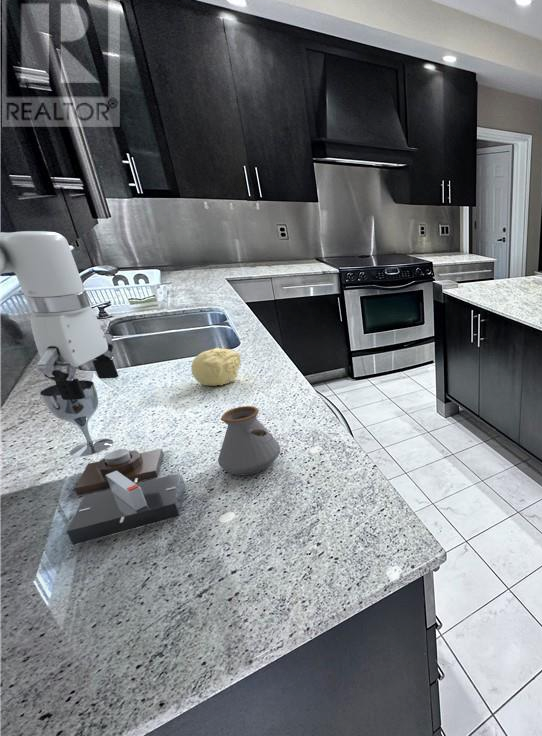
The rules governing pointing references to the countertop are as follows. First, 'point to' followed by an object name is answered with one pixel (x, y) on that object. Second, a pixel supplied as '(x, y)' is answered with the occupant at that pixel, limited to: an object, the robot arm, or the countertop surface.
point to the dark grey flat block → (126, 509)
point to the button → (117, 457)
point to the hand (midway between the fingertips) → (92, 387)
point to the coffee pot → (246, 443)
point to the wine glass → (77, 415)
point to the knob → (126, 490)
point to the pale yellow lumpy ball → (216, 366)
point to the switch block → (120, 471)
